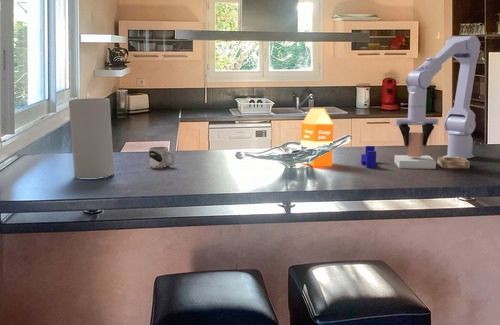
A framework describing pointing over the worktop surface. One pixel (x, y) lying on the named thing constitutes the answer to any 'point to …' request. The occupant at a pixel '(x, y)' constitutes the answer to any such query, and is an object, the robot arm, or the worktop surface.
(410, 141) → the block
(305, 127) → the orange juice
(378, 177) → the worktop surface
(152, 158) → the mug
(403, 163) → the platform
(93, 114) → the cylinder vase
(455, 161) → the socket
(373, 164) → the cable clip
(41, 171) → the worktop surface
